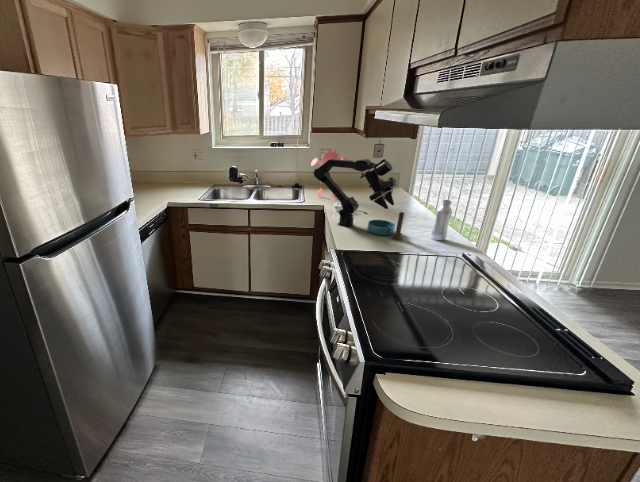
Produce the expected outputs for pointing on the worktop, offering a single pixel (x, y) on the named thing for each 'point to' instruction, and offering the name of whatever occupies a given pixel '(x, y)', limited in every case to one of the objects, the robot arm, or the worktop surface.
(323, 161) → the figurine
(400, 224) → the post
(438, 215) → the plastic bottle
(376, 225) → the bowl
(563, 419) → the worktop surface
